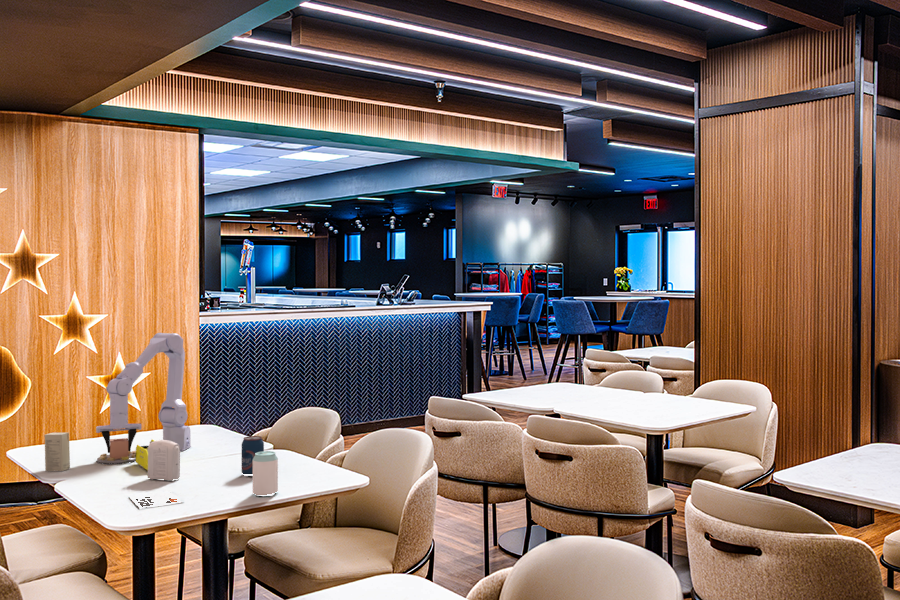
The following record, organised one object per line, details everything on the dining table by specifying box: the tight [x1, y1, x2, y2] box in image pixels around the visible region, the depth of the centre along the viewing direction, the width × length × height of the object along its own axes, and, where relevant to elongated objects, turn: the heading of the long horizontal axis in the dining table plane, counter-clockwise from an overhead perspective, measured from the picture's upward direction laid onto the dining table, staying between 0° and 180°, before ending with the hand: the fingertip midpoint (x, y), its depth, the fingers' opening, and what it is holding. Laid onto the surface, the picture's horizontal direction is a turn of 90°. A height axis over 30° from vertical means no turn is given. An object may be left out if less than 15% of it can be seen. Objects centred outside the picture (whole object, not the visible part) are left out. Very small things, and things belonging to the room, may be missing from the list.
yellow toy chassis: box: [135, 439, 155, 471], centre depth 252 cm, size 16×6×8 cm, turn 36°
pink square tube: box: [109, 437, 128, 459], centre depth 264 cm, size 6×6×6 cm
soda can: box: [241, 435, 265, 475], centre depth 240 cm, size 7×7×12 cm
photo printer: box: [147, 439, 181, 481], centre depth 234 cm, size 10×4×12 cm, turn 72°
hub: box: [96, 450, 136, 465], centre depth 263 cm, size 14×14×4 cm
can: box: [252, 450, 279, 496], centre depth 216 cm, size 7×7×12 cm
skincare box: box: [44, 432, 71, 472], centre depth 248 cm, size 6×4×12 cm
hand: (119, 451), depth 263 cm, fingers closed on pink square tube, 6 cm apart
